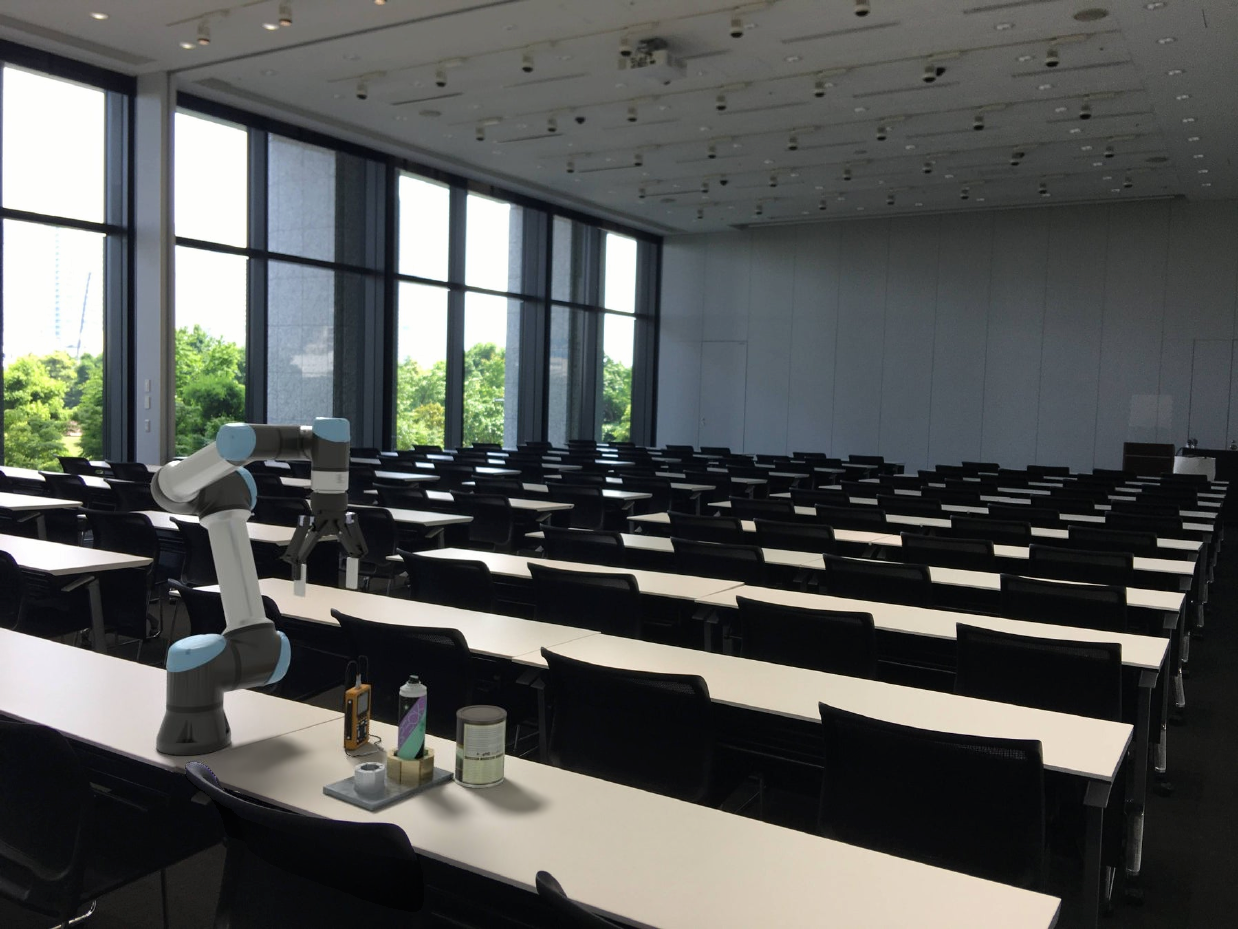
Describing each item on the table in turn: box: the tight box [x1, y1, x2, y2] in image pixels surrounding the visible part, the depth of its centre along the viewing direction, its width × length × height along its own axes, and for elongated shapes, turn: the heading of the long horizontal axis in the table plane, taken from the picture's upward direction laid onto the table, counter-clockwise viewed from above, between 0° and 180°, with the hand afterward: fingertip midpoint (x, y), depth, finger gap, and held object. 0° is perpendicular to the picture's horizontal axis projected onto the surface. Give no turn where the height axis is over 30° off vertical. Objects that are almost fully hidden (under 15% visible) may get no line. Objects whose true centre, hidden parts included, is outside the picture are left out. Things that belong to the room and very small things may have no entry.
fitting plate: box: [322, 746, 455, 812], centre depth 195 cm, size 14×22×5 cm, turn 146°
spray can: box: [397, 674, 428, 759], centre depth 199 cm, size 6×6×20 cm
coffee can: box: [453, 704, 508, 789], centre depth 201 cm, size 10×10×14 cm
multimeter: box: [343, 655, 387, 758], centre depth 217 cm, size 15×10×20 cm
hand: (326, 592), depth 204 cm, fingers open, 13 cm apart
